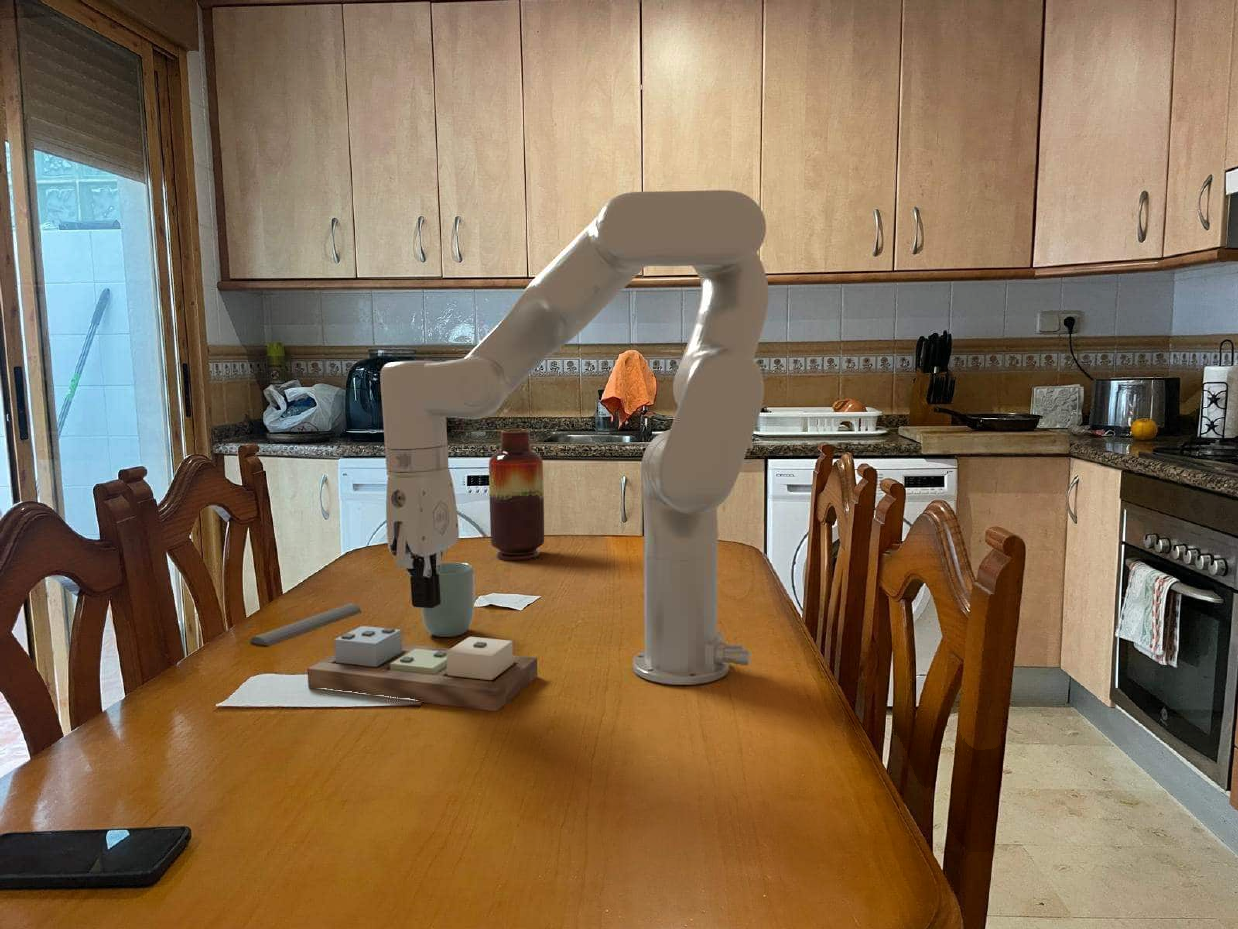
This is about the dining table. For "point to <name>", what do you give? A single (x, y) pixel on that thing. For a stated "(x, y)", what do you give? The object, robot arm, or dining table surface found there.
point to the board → (425, 682)
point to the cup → (452, 601)
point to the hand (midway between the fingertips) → (426, 605)
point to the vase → (516, 498)
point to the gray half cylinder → (305, 625)
